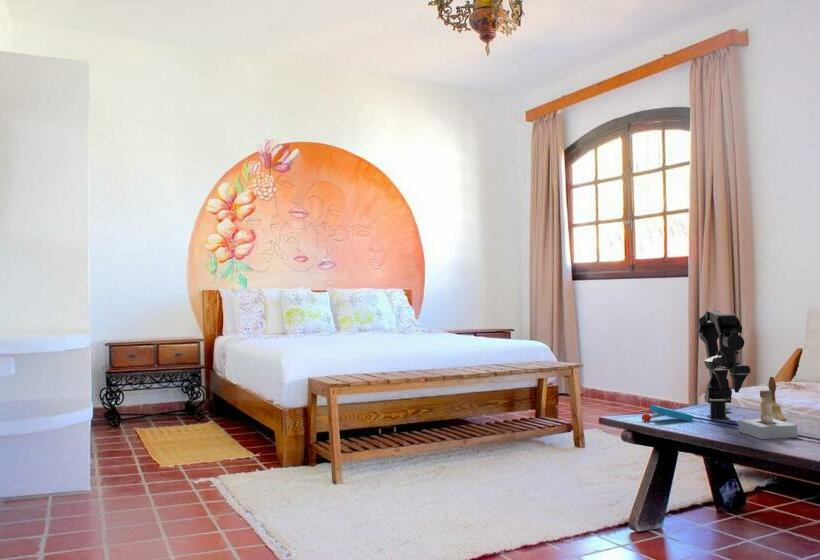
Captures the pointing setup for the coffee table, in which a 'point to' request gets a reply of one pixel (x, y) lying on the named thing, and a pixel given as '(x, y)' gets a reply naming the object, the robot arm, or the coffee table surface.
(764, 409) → the birch peg
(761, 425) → the socket block
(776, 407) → the hand bell
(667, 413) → the lever
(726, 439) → the coffee table surface
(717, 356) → the robot arm
